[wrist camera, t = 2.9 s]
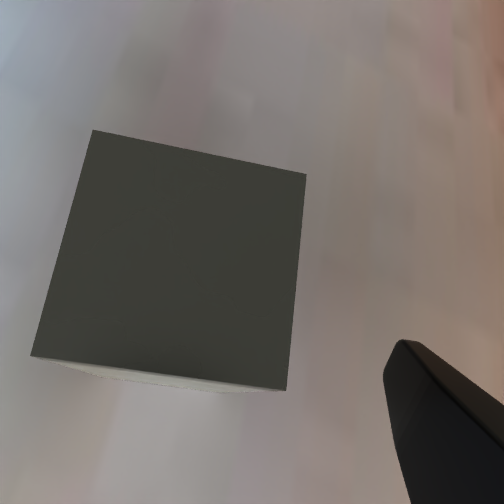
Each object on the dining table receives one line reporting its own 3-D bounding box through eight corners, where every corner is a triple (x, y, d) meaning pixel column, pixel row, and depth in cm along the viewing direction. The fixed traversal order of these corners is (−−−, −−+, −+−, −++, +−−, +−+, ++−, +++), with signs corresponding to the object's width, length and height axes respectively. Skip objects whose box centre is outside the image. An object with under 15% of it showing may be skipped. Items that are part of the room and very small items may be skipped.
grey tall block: (219, 392, 18) (286, 391, 8) (102, 377, 17) (30, 355, 8) (235, 282, 19) (306, 174, 10) (127, 264, 18) (92, 129, 9)
